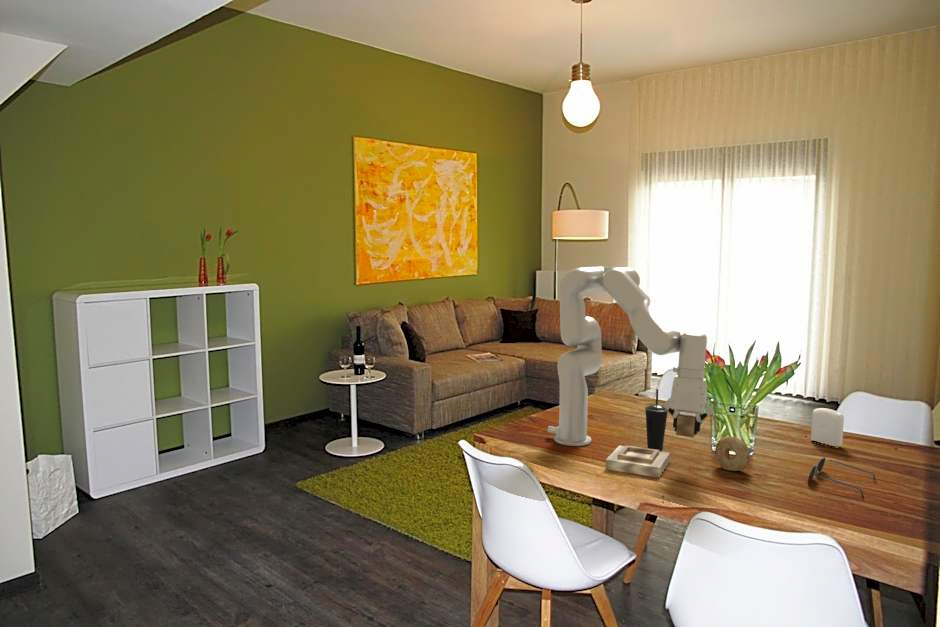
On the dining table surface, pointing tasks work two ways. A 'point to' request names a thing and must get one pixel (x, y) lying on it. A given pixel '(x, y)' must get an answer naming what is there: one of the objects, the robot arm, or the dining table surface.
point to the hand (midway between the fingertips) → (686, 431)
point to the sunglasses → (819, 468)
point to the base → (638, 460)
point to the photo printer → (827, 426)
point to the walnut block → (686, 424)
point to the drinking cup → (655, 424)
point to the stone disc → (729, 462)
